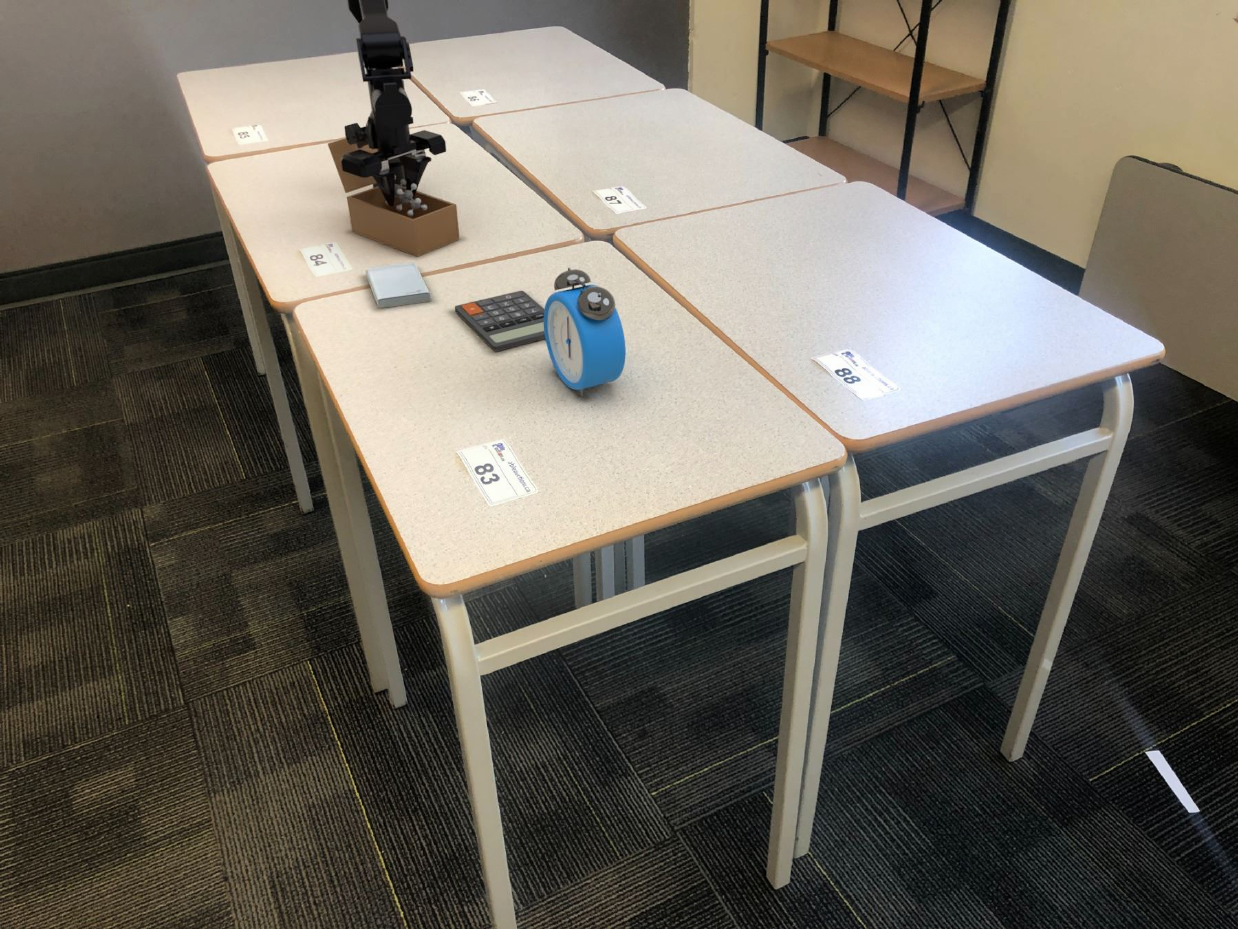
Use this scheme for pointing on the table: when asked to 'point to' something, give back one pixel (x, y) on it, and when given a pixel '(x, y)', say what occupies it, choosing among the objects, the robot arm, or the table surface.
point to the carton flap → (347, 179)
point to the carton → (404, 221)
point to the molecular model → (407, 198)
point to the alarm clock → (583, 332)
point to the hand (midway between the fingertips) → (401, 201)
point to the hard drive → (397, 285)
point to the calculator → (505, 319)
